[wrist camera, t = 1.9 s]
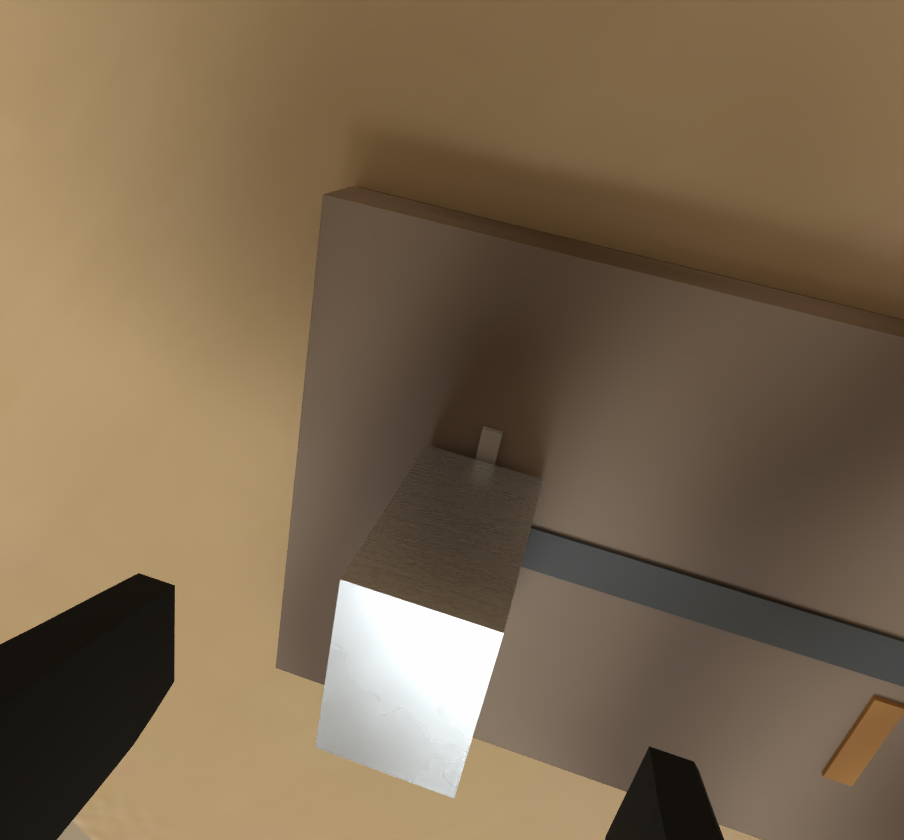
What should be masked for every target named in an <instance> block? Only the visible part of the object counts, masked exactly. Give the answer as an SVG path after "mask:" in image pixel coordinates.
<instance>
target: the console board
mask: <svg viewBox="0 0 904 840" xmlns="http://www.w3.org/2000/svg"><path fill="white" fill-rule="evenodd" d="M426 445H429V446H432V447H435V448H439V449H442V450H446V451H449V452H452V453H456V454H459V455H463V456H466V457H469V458H473V459H476V460H480V461H483V462H486V463H490V464H493V465H497V466H500V467H503V468H507V469H510V470H514V471H517V472H520V473H524V474H527V475H530V476H534V477H537V478H541V479H543V483H542V487H541V491H540V495H539V498H538V502H537V506H536V510H535V514H534V518H533V522H532V526H531V530H530V533H529V537H528V541H527V545H526V549H525V553H524V557H523V561H522V564H521V568H520V572H519V576H518V580H517V584H516V588H515V592H514V595H513V599H512V603H511V607H510V611H509V615H508V619H507V623H506V626H505V630H504V634H503V637H502V641H501V644H500V647H499V651H498V654H497V657H496V661H495V664H494V667H493V671H492V674H491V677H490V681H489V684H488V687H487V690H486V694H485V697H484V700H483V704H482V707H481V710H480V714H479V717H478V720H477V724H476V727H475V730H474V734H473V738H476V739H479V740H482V741H484V742H487V743H490V744H493V745H496V746H499V747H501V748H504V749H507V750H510V751H513V752H516V753H518V754H521V755H524V756H527V757H530V758H533V759H535V760H538V761H541V762H544V763H547V764H550V765H552V766H555V767H558V768H561V769H564V770H567V771H569V772H572V773H575V774H578V775H581V776H584V777H586V778H589V779H592V780H595V781H598V782H601V783H603V784H606V785H609V786H612V787H615V788H618V789H620V790H623V791H626V792H627V791H628V789H629V787H630V785H631V783H632V781H633V779H634V777H635V775H636V773H637V771H638V768H639V766H640V764H641V762H642V760H643V758H644V756H645V754H646V752H647V750H648V748H649V746H650V747H653V748H656V749H659V750H662V751H664V752H667V753H670V754H673V755H676V756H679V757H682V758H685V759H688V760H691V761H694V762H695V764H696V766H697V768H698V769H699V772H700V775H701V777H702V780H703V783H704V786H705V789H706V792H707V794H708V797H709V800H710V803H711V806H712V808H713V811H714V814H715V817H716V819H717V822H718V824H720V825H722V826H725V827H728V828H731V829H734V830H736V831H739V832H742V833H745V834H748V835H751V836H753V837H756V838H759V839H762V840H904V320H901V319H897V318H893V317H889V316H885V315H881V314H876V313H872V312H868V311H864V310H860V309H856V308H852V307H848V306H844V305H839V304H835V303H831V302H827V301H823V300H819V299H815V298H811V297H807V296H802V295H798V294H794V293H790V292H786V291H782V290H778V289H774V288H770V287H765V286H761V285H757V284H753V283H749V282H745V281H741V280H737V279H733V278H729V277H724V276H720V275H716V274H712V273H708V272H704V271H700V270H696V269H692V268H687V267H683V266H679V265H675V264H671V263H667V262H663V261H659V260H655V259H650V258H646V257H642V256H638V255H634V254H630V253H626V252H622V251H618V250H613V249H609V248H605V247H601V246H597V245H593V244H589V243H585V242H581V241H576V240H572V239H568V238H564V237H560V236H556V235H552V234H548V233H544V232H539V231H535V230H531V229H527V228H523V227H519V226H515V225H511V224H507V223H502V222H498V221H494V220H490V219H486V218H482V217H478V216H474V215H470V214H465V213H461V212H457V211H453V210H449V209H445V208H441V207H437V206H433V205H429V204H424V203H420V202H416V201H412V200H408V199H404V198H400V197H396V196H392V195H387V194H383V193H379V192H375V191H371V190H367V189H363V188H359V187H355V186H354V187H350V188H346V189H342V190H338V191H334V192H331V193H327V194H323V203H322V213H321V223H320V233H319V243H318V253H317V262H316V272H315V282H314V292H313V302H312V312H311V322H310V332H309V342H308V352H307V362H306V372H305V382H304V392H303V402H302V412H301V422H300V432H299V442H298V452H297V462H296V472H295V482H294V492H293V502H292V511H291V521H290V531H289V541H288V551H287V561H286V571H285V581H284V591H283V601H282V611H281V621H280V631H279V641H278V651H277V661H276V668H278V669H281V670H283V671H286V672H289V673H292V674H295V675H298V676H300V677H303V678H306V679H309V680H312V681H315V682H317V683H320V684H323V685H325V679H326V672H327V665H328V659H329V652H330V645H331V638H332V632H333V625H334V618H335V611H336V604H337V598H338V591H339V584H340V579H341V577H342V576H343V574H344V573H345V571H346V570H347V568H348V566H349V565H350V563H351V562H352V560H353V559H354V557H355V555H356V554H357V552H358V551H359V549H360V548H361V546H362V544H363V543H364V541H365V540H366V538H367V537H368V535H369V533H370V532H371V530H372V529H373V527H374V526H375V524H376V523H377V521H378V519H379V518H380V516H381V515H382V513H383V512H384V510H385V508H386V507H387V505H388V504H389V502H390V501H391V499H392V497H393V496H394V494H395V493H396V491H397V490H398V488H399V486H400V485H401V483H402V482H403V480H404V479H405V477H406V475H407V474H408V472H409V471H410V469H411V468H412V466H413V464H414V463H415V461H416V460H417V458H418V457H419V455H420V454H421V452H422V450H423V449H424V447H425V446H426Z"/></svg>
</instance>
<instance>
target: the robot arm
mask: <svg viewBox="0 0 904 840" xmlns="http://www.w3.org/2000/svg"><path fill="white" fill-rule="evenodd" d="M174 625H175V585H172V584H169V583H166V582H163V581H160V580H157V579H154V578H151V577H148V576H145V575H142V574H139V573H138V574H136V575H134V576H132V577H131V578H129V579H127V580H125V581H123V582H121V583H119V584H117V585H115V586H113V587H111V588H109V589H107V590H105V591H103V592H101V593H99V594H97V595H95V596H94V597H92V598H90V599H88V600H86V601H84V602H82V603H80V604H78V605H76V606H74V607H72V608H71V609H69V610H67V611H65V612H63V613H61V614H59V615H57V616H55V617H53V618H51V619H49V620H47V621H46V622H44V623H42V624H40V625H38V626H36V627H34V628H32V629H30V630H28V631H26V632H24V633H22V634H20V635H18V636H16V637H14V638H12V639H10V640H8V641H6V642H4V643H2V644H0V840H57V838H58V837H59V836H60V835H61V834H62V832H63V831H64V830H65V829H66V827H67V826H68V825H69V824H70V822H71V821H72V820H73V819H74V818H75V816H76V815H77V814H78V813H79V812H80V810H81V809H82V808H83V807H84V805H85V804H86V803H87V802H88V801H89V799H90V798H91V797H92V796H93V794H94V793H95V792H96V791H97V790H98V788H99V787H100V786H101V785H102V783H103V782H104V781H105V780H106V778H107V777H108V776H109V775H110V773H111V772H112V771H113V770H114V768H115V767H116V766H117V765H118V763H119V762H120V761H121V760H122V758H123V757H124V756H125V755H126V753H127V752H128V751H129V750H130V748H131V747H132V746H133V745H134V743H135V742H136V740H137V739H138V737H139V736H140V734H141V733H142V731H143V730H144V728H145V727H146V725H147V724H148V722H149V721H150V719H151V717H152V716H153V714H154V713H155V711H156V710H157V708H158V706H159V705H160V703H161V702H162V700H163V698H164V697H165V695H166V694H167V692H168V690H169V689H170V687H171V686H172V684H173V683H174ZM605 840H724V838H723V835H722V833H721V830H720V827H719V825H718V822H717V819H716V817H715V814H714V811H713V808H712V806H711V803H710V800H709V797H708V794H707V792H706V789H705V786H704V783H703V780H702V777H701V775H700V772H699V769H698V768H697V766H696V764H695V762H694V761H691V760H688V759H685V758H682V757H679V756H676V755H673V754H670V753H667V752H664V751H662V750H659V749H656V748H653V747H650V746H649V748H648V750H647V752H646V754H645V756H644V758H643V760H642V762H641V764H640V766H639V768H638V771H637V773H636V775H635V777H634V779H633V781H632V783H631V785H630V787H629V789H628V791H627V793H626V795H625V797H624V800H623V802H622V804H621V806H620V808H619V810H618V812H617V814H616V816H615V818H614V820H613V822H612V824H611V827H610V829H609V831H608V833H607V835H606V838H605Z"/></svg>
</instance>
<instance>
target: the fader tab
mask: <svg viewBox="0 0 904 840" xmlns="http://www.w3.org/2000/svg"><path fill="white" fill-rule="evenodd" d="M542 483H543V479H541V478H537V477H534V476H530V475H527V474H524V473H520V472H517V471H514V470H510V469H507V468H503V467H500V466H497V465H493V464H490V463H486V462H483V461H480V460H476V459H473V458H469V457H466V456H463V455H459V454H456V453H452V452H449V451H446V450H442V449H439V448H435V447H432V446H429V445H426V446H425V447H424V449H423V450H422V452H421V454H420V455H419V457H418V458H417V460H416V461H415V463H414V464H413V466H412V468H411V469H410V471H409V472H408V474H407V475H406V477H405V479H404V480H403V482H402V483H401V485H400V486H399V488H398V490H397V491H396V493H395V494H394V496H393V497H392V499H391V501H390V502H389V504H388V505H387V507H386V508H385V510H384V512H383V513H382V515H381V516H380V518H379V519H378V521H377V523H376V524H375V526H374V527H373V529H372V530H371V532H370V533H369V535H368V537H367V538H366V540H365V541H364V543H363V544H362V546H361V548H360V549H359V551H358V552H357V554H356V555H355V557H354V559H353V560H352V562H351V563H350V565H349V566H348V568H347V570H346V571H345V573H344V574H343V576H342V577H341V579H340V584H339V591H338V598H337V604H336V611H335V618H334V625H333V632H332V638H331V645H330V652H329V659H328V665H327V672H326V679H325V686H324V692H323V699H322V706H321V713H320V719H319V726H318V733H317V740H316V746H315V748H318V749H321V750H324V751H326V752H329V753H332V754H335V755H337V756H340V757H343V758H345V759H348V760H351V761H354V762H356V763H359V764H362V765H364V766H367V767H370V768H373V769H375V770H378V771H381V772H383V773H386V774H389V775H392V776H394V777H397V778H400V779H403V780H405V781H408V782H411V783H413V784H416V785H419V786H422V787H424V788H427V789H430V790H432V791H435V792H438V793H441V794H443V795H446V796H449V797H452V798H454V797H455V793H456V790H457V787H458V783H459V780H460V777H461V773H462V770H463V767H464V763H465V760H466V757H467V753H468V750H469V747H470V744H471V740H472V737H473V734H474V730H475V727H476V724H477V720H478V717H479V714H480V710H481V707H482V704H483V700H484V697H485V694H486V690H487V687H488V684H489V681H490V677H491V674H492V671H493V667H494V664H495V661H496V657H497V654H498V651H499V647H500V644H501V641H502V637H503V634H504V630H505V626H506V623H507V619H508V615H509V611H510V607H511V603H512V599H513V595H514V592H515V588H516V584H517V580H518V576H519V572H520V568H521V564H522V561H523V557H524V553H525V549H526V545H527V541H528V537H529V533H530V530H531V526H532V522H533V518H534V514H535V510H536V506H537V502H538V498H539V495H540V491H541V487H542Z"/></svg>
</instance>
